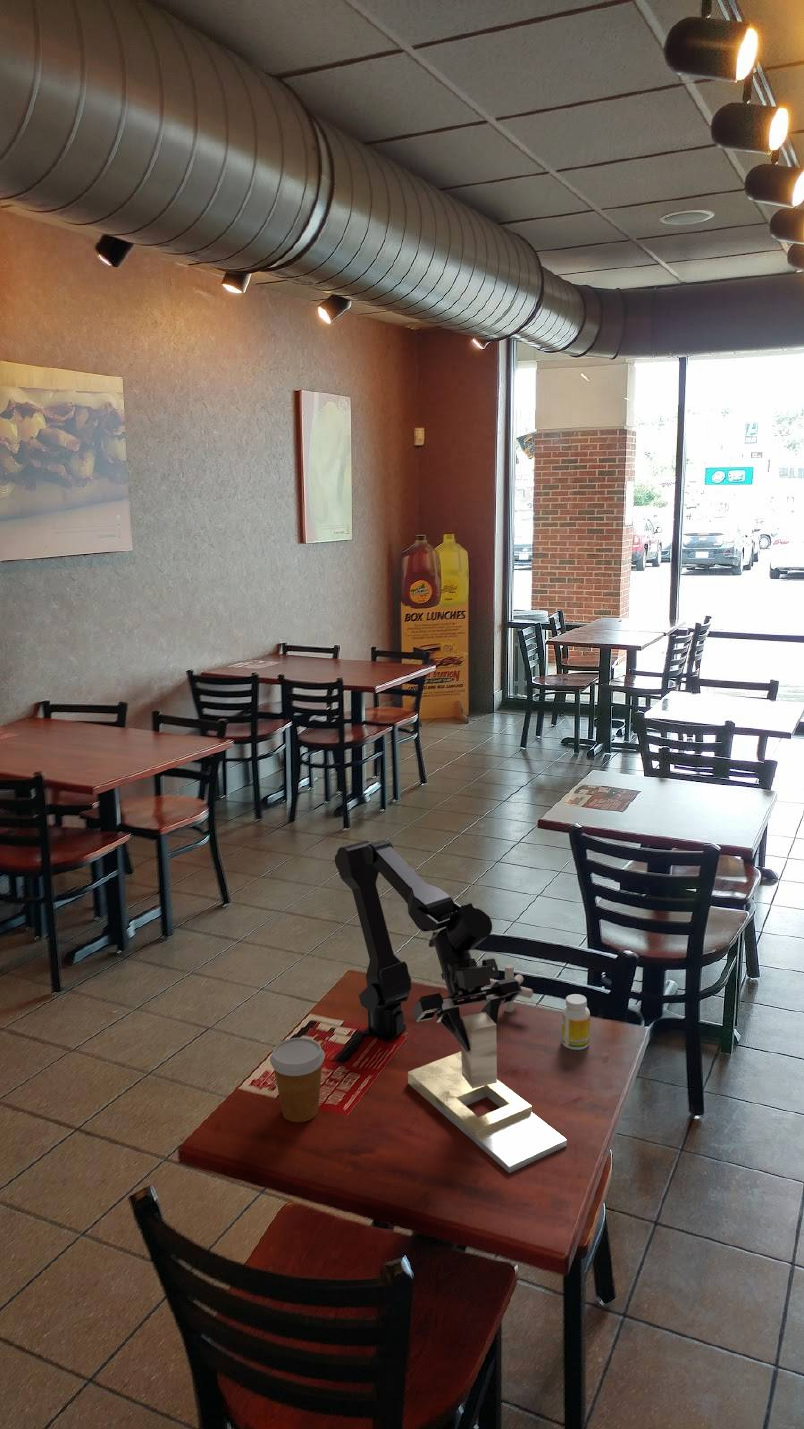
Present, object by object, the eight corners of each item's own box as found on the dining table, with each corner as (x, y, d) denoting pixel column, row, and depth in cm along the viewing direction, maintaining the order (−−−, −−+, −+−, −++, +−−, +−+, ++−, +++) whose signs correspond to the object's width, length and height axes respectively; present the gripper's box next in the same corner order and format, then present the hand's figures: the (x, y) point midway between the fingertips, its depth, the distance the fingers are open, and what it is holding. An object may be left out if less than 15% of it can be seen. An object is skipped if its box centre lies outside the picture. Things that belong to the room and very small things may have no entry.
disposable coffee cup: (264, 1122, 173) (259, 1060, 170) (288, 1091, 182) (284, 1032, 179) (313, 1132, 170) (310, 1069, 167) (336, 1101, 178) (333, 1040, 176)
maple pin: (461, 1074, 173) (460, 1017, 171) (485, 1068, 175) (485, 1011, 172) (472, 1088, 169) (471, 1030, 167) (496, 1082, 170) (496, 1024, 168)
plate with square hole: (408, 1083, 183) (407, 1071, 182) (461, 1062, 189) (461, 1051, 189) (509, 1173, 158) (509, 1159, 158) (566, 1145, 164) (566, 1132, 164)
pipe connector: (520, 1027, 201) (520, 982, 199) (477, 1014, 206) (476, 970, 204) (541, 1005, 209) (541, 961, 207) (498, 994, 215) (498, 951, 212)
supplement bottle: (556, 1042, 195) (556, 998, 193) (574, 1033, 198) (574, 989, 196) (577, 1054, 191) (577, 1008, 189) (595, 1043, 194) (595, 999, 192)
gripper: (417, 954, 167) (443, 1046, 160) (517, 935, 173) (546, 1022, 166) (402, 976, 176) (426, 1064, 169) (498, 957, 182) (525, 1041, 175)
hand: (482, 1048), depth 169 cm, fingers closed on maple pin, 5 cm apart
